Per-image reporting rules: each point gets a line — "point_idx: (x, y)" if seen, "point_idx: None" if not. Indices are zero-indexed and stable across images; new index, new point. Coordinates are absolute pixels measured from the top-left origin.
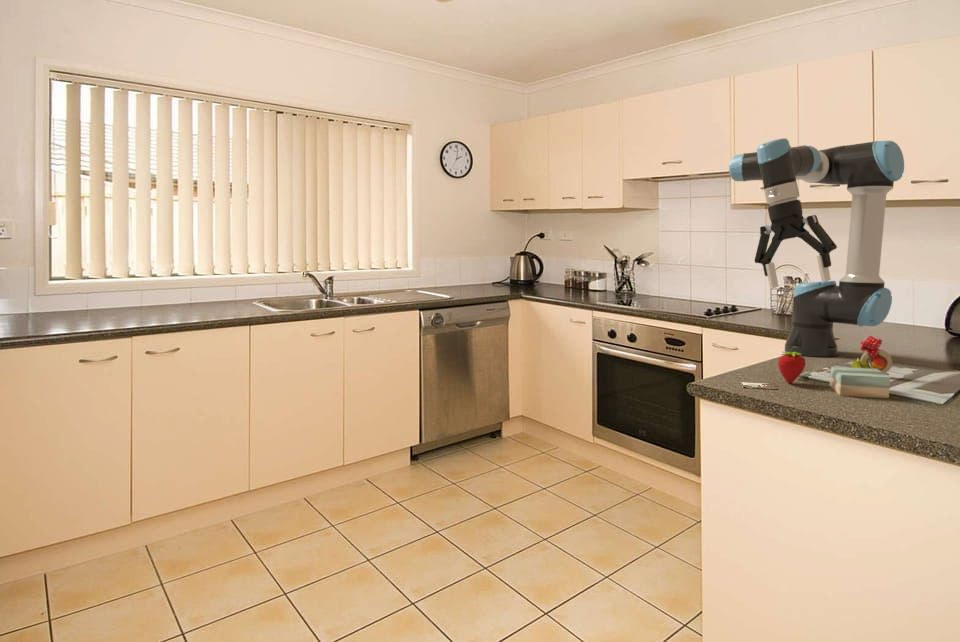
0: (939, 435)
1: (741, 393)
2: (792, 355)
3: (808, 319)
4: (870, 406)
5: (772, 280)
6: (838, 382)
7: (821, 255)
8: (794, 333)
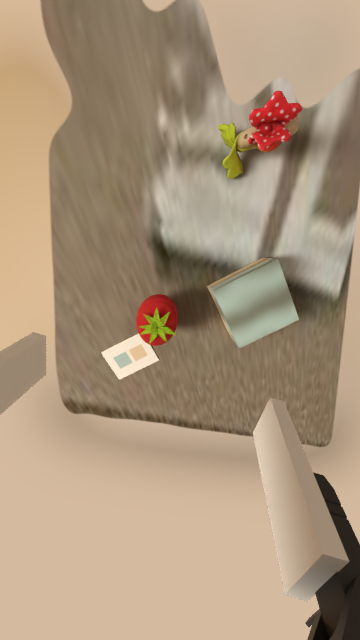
0: (325, 425)
1: (130, 405)
2: (161, 337)
3: None
4: (267, 365)
5: (19, 389)
6: (229, 331)
7: (315, 588)
8: None
